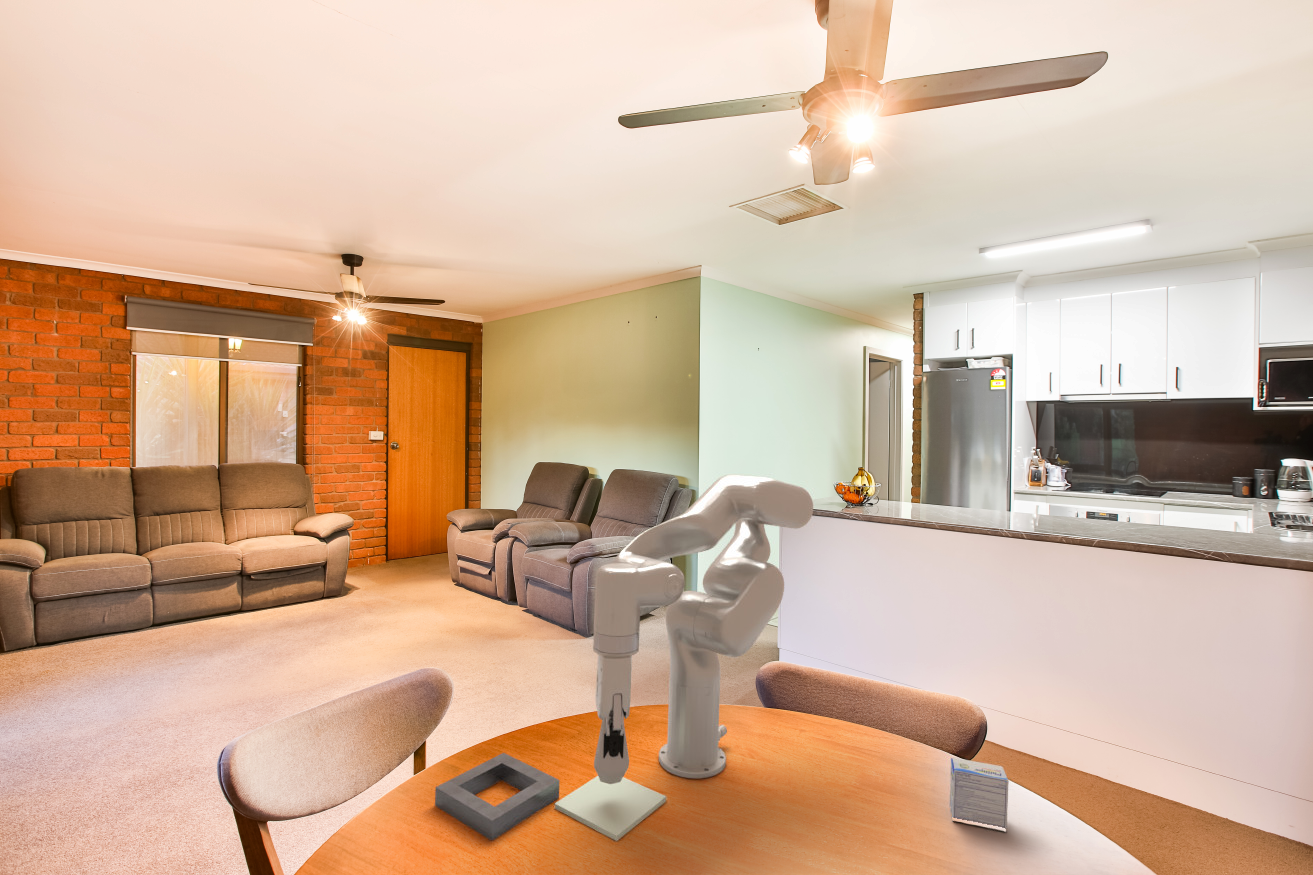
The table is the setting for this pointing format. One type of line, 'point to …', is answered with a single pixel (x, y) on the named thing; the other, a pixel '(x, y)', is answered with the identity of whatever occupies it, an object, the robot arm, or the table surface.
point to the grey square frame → (501, 818)
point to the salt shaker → (610, 760)
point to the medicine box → (978, 792)
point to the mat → (611, 805)
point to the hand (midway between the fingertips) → (612, 751)
